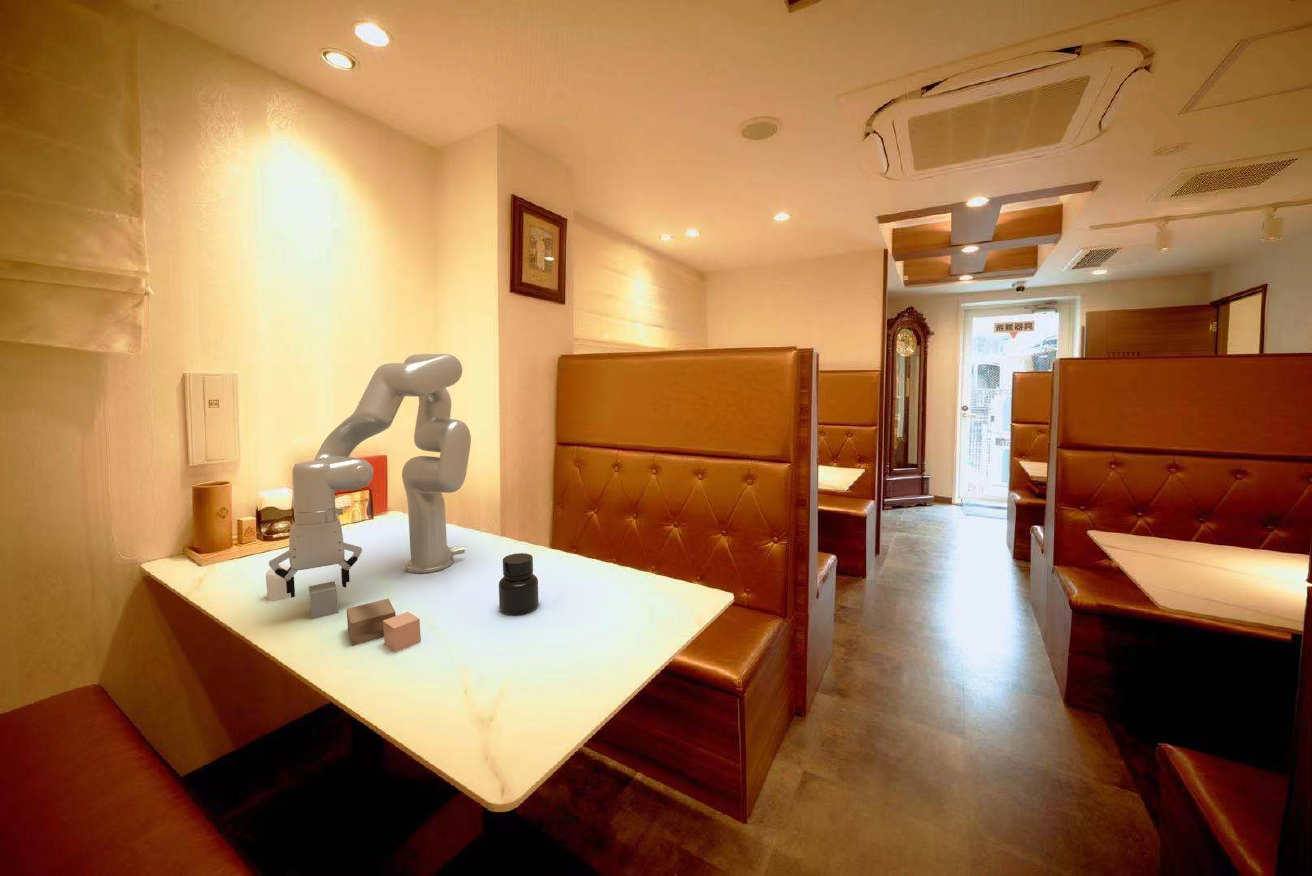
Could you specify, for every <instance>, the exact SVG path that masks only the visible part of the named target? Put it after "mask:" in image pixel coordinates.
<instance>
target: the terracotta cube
mask: <svg viewBox="0 0 1312 876" xmlns="http://www.w3.org/2000/svg"><path fill="white" fill-rule="evenodd" d="M420 621H421V620H420V618H419V617H417V616H416V615H414V614H412V613H411V612H410V611H406V612H403V613H400V614H398V615H396V616H395V617H392V618H389V619H386V620H384V621H383V630H384V637H383V642H384V643H383V644H385V646H387V647H388V648H389V649H391V650H392V651H394V652H395V653H397V652H399V651H402V650H405V649H407V648H410V647H411V646H414V645H416V644H419V643H421V642H422V639H421V638H422V637H421V635H422V634H421V622H420ZM404 648H405V649H404Z"/></svg>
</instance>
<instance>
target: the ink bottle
mask: <svg viewBox="0 0 1312 876" xmlns="http://www.w3.org/2000/svg"><path fill="white" fill-rule="evenodd" d="M533 561H534V560H533V555H531V554H530V553H525V552H524V553H523V552H520V553H517V552H516V553H511V554H508V555H507V556H505V557H503V558H502V575H503V577H502V578H501V579H500V580H499V582H498V606H499V607H498V608H499V610H500V611H501V612H502V613H504V614H507V615H510V616H512V615H513V616H520V615H524V614H527V613H530V612H532V611H534V610H535V609H537V607H538V606H539V602H540V601H539V600H540V599H539V580H538V576H536V575H535V574H534V573H533V572H534V563H533Z"/></svg>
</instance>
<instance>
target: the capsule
mask: <svg viewBox="0 0 1312 876" xmlns="http://www.w3.org/2000/svg"><path fill="white" fill-rule="evenodd" d="M279 565H280V567H281V568H283V569H285V570H286V571H287V570H288V569H289V568H290V567H291V566H289V565H288V564H287V565H286V564H283V563H279ZM265 583H266V585H265V586H266V593H267V594H266V595H267V600H268V601H271V602H278V601H282V600H287V599H289V598H291V593H287V587H286V580H285V579H284V578H282V577H280V576H279V575H277V574H276V573H275V572H274V571H273V570H272V568H271V567H270V568H269V569H268V571H267V572H266V574H265Z"/></svg>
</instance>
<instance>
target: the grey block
mask: <svg viewBox="0 0 1312 876" xmlns="http://www.w3.org/2000/svg"><path fill="white" fill-rule="evenodd" d="M337 589H338V588H337V584H336V581H335V580H333V581H327V582H324V583H318V584H313V585H309V586H308V594H309V602H310V603H309V605H310V606H309V607H310V615H311V620H315V619H320V618H324V617H329V616H331V615H336V614H339V604H338V601H339V600H338V591H337Z"/></svg>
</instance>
